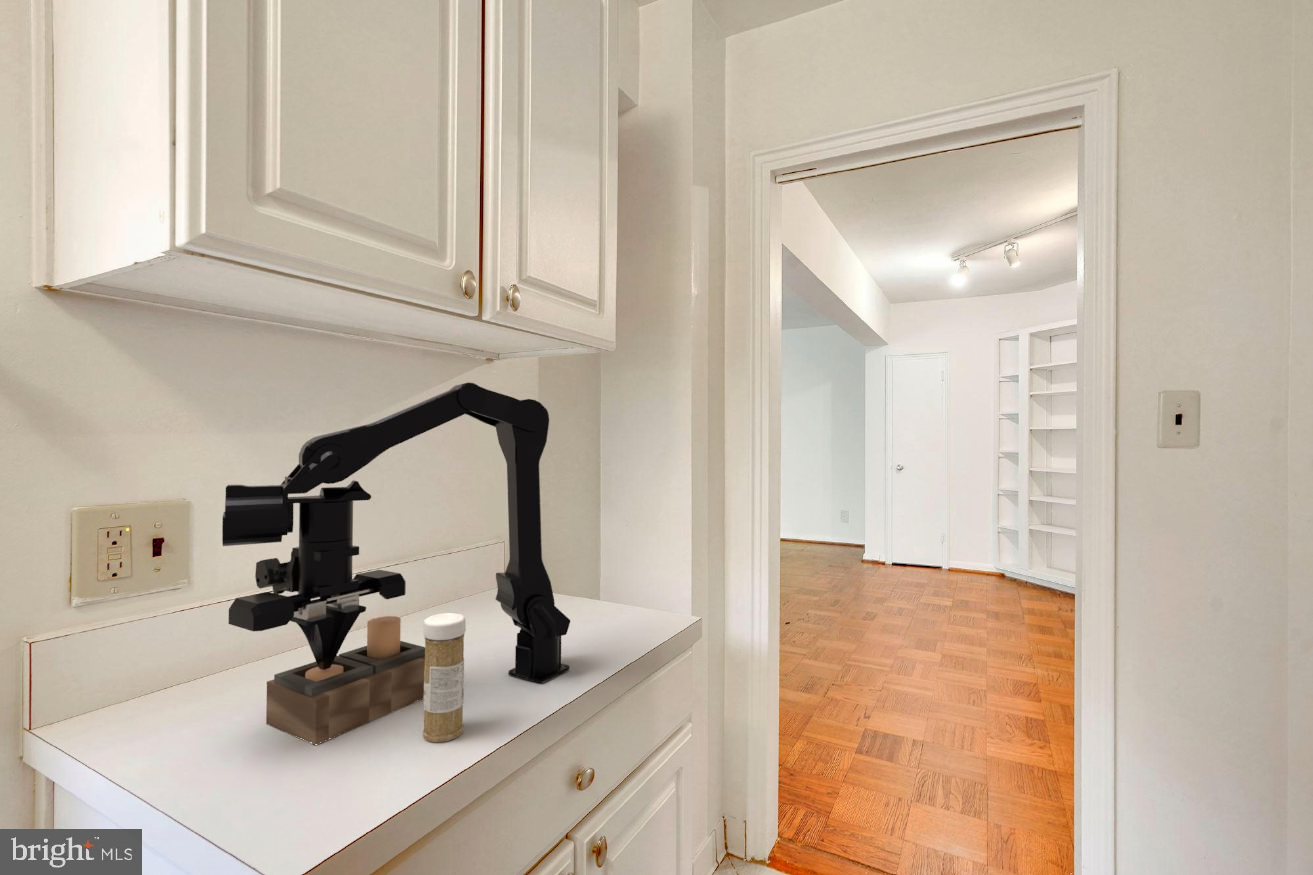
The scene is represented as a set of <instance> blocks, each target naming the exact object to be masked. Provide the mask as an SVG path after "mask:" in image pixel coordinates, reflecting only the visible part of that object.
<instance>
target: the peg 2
mask: <svg viewBox="0 0 1313 875" xmlns="http://www.w3.org/2000/svg"><path fill="white" fill-rule="evenodd" d="M401 620H402V618H401V617H399V616H393V615H391V616H389V615H386V616H385V615H384V616H378V617H375V618H371V619H369V620H368V621H367V624H366V626H367V627H366V629H367V633H366V634H367V635H366V638H367V640H366V646H367V657H369V658H372V659H376V660H381V659H384V658H387V657H390V656H393V655H396V654H399V653H400V641H401V628H402V627H401V622H402V621H401Z"/></svg>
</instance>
